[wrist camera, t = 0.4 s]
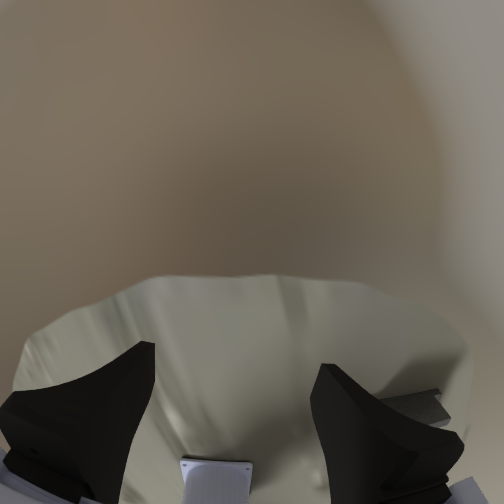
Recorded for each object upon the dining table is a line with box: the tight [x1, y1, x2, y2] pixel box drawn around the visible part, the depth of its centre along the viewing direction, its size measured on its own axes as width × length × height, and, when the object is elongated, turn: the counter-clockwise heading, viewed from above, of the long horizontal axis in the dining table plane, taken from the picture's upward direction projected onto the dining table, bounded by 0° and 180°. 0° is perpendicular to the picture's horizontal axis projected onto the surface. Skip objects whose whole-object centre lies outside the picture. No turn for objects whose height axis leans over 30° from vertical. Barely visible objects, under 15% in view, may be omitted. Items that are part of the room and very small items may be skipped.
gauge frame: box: [379, 389, 451, 428], centre depth 24 cm, size 12×10×5 cm
